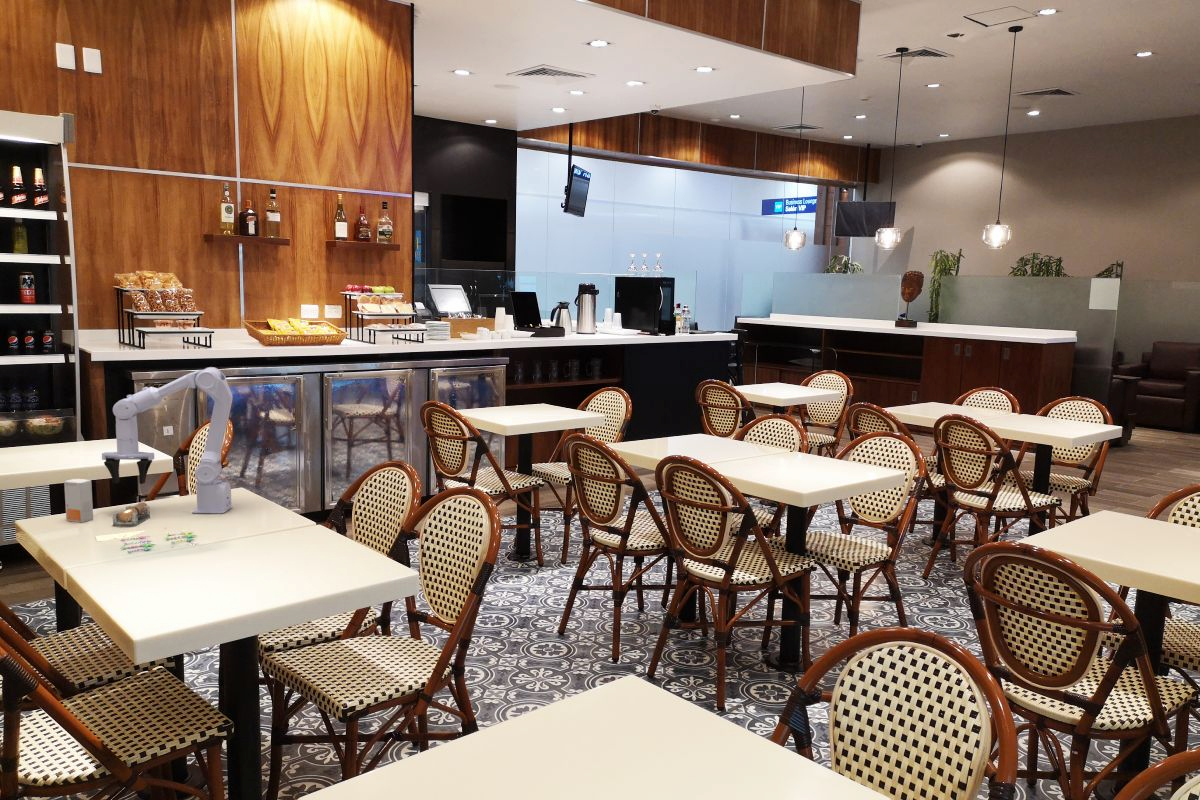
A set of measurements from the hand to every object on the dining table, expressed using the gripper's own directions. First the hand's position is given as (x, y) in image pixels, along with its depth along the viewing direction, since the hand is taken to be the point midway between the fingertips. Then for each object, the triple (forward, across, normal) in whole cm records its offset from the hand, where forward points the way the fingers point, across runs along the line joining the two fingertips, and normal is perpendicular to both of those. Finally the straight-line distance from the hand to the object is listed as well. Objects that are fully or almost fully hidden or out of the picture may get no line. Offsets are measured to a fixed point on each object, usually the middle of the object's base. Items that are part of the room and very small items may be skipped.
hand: (129, 483), depth 271 cm
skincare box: (+10, -11, -8) cm, 17 cm away
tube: (+8, +4, -10) cm, 13 cm away
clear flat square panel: (+10, +22, -31) cm, 39 cm away
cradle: (+9, +4, -10) cm, 14 cm away
